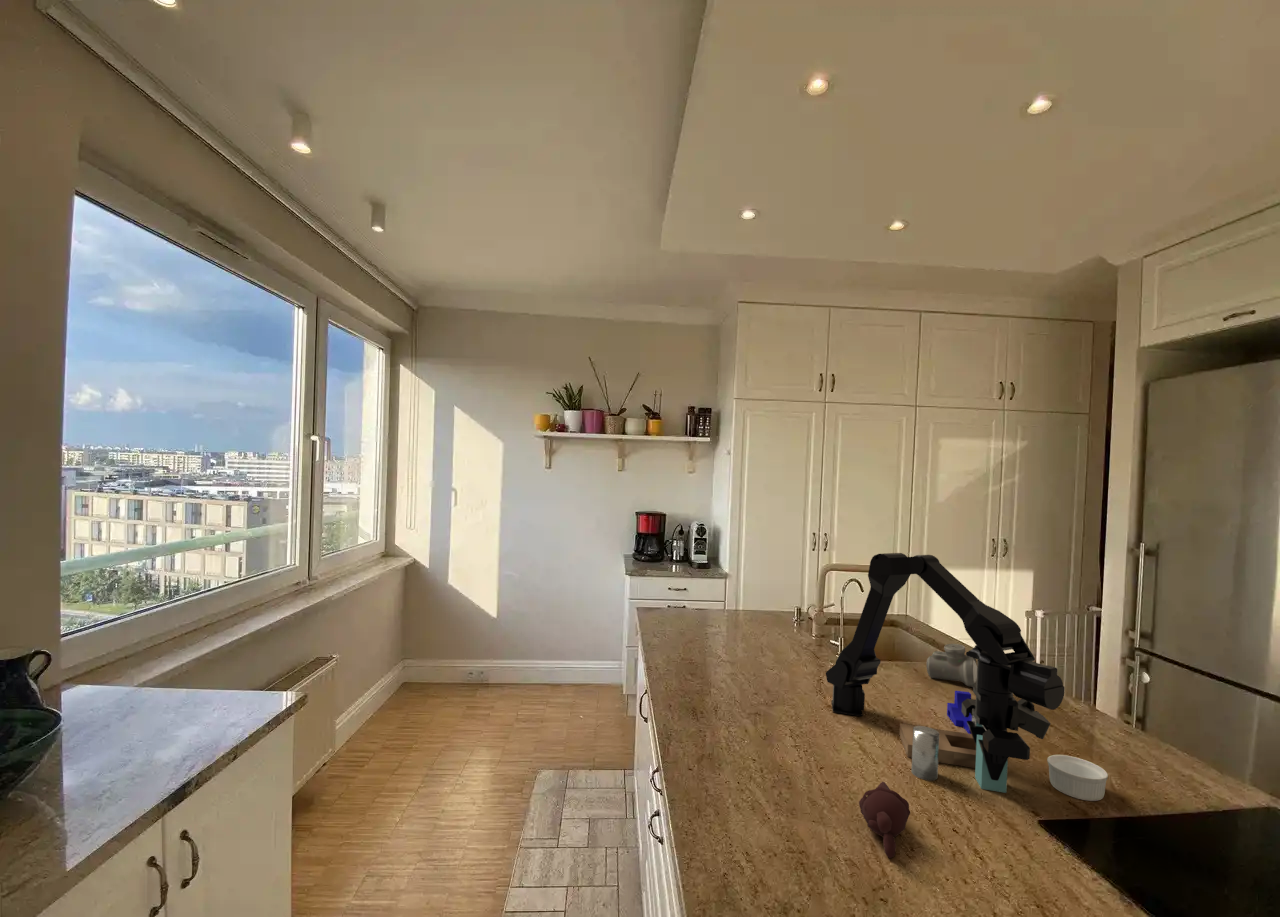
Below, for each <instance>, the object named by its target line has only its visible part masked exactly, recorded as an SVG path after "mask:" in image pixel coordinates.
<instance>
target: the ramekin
mask: <svg viewBox="0 0 1280 917" xmlns="http://www.w3.org/2000/svg"><path fill="white" fill-rule="evenodd" d="M1046 759H1047V760H1046V762H1047V765H1048V773H1049V782H1050V785H1051V786H1052V787H1053V788H1055V790H1057V791H1059V792H1060V793H1062V794H1064V795H1066V796H1069V797H1072V798H1074V799H1076V800H1077V799H1078V800H1082V801H1090V802H1096V801H1100V800H1102V799H1104V796H1105V794H1106V793H1105V792H1106V785H1107V781H1108V778H1109V775H1108V772H1107V771H1106V770H1105V769H1104V768H1103V767H1101V766H1100V765H1098V764H1096V763H1093V762H1091V761H1090V760H1089V761H1088V760H1086V759H1082V758H1079V757H1076V756H1071V755H1067V754H1053V755H1050V756H1048V757H1047V758H1046Z"/></svg>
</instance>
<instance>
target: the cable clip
mask: <svg viewBox="0 0 1280 917" xmlns="http://www.w3.org/2000/svg"><path fill="white" fill-rule="evenodd" d="M966 699H972V693H971V692H970V691H961V690H954V702H953V703H952V702H947V704H946V707H947V708H946V715H947V717H948V719H950V721H951V722H952V724H954V726H955V727H959V728H963V729H964V730H965V732H966V733H968V734H971V732H970V729H969V726H968V724H967V721H972V715H971V714H970V713H969V717H965V716H964V715H963V713H962V712H961V710H962V702H963V701H964V700H966Z"/></svg>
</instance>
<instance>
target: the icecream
mask: <svg viewBox="0 0 1280 917" xmlns="http://www.w3.org/2000/svg"><path fill="white" fill-rule="evenodd" d="M858 805H859V808H860V814H861V815H862V816H863V819H864V820H865V822H866V824H867V828H869V829H870V830H871V831H872V832H874V833H875V834H877V835H878V836H879V837H882V838H883V840H882V841H883V850H884V853H885V855H886V857H887V858H889V859H892V858H893V857H895V855H896V851H897V844H896V839H895V838H896V837H898V835H900V834H902V832H904V831H905V830H906V828H907V827H906V826H907V821H908V820H909V817H910V815H911V810H910V803H909V801H908V800H907V799H905V798H904V797H903V796H901V795H900V793H898V792H896V791H894V790H893V789H891V788H890V787H889V786H888V785H887V783H886V782H885V781H881V782H880V783H879V784H878V786H877V787H876V788H874V789H869V790H867V791H865V792H864V794H863V795H862V797H861V798H860V800H859V801H858Z"/></svg>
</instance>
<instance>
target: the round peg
mask: <svg viewBox="0 0 1280 917" xmlns="http://www.w3.org/2000/svg"><path fill="white" fill-rule="evenodd" d="M914 726H915V727H914V728H913V746H912V758H911V769H910V770H911V774H912V775H913V776H915V777H916V778H919V779H921V780H925V781H929V782H930V781H936V780H937V779H938V773H939V762H938V755H939V732H938V731H936V730H934V729H935V728H934V729H932V728H933V727H928V726H923V725H914Z"/></svg>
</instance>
